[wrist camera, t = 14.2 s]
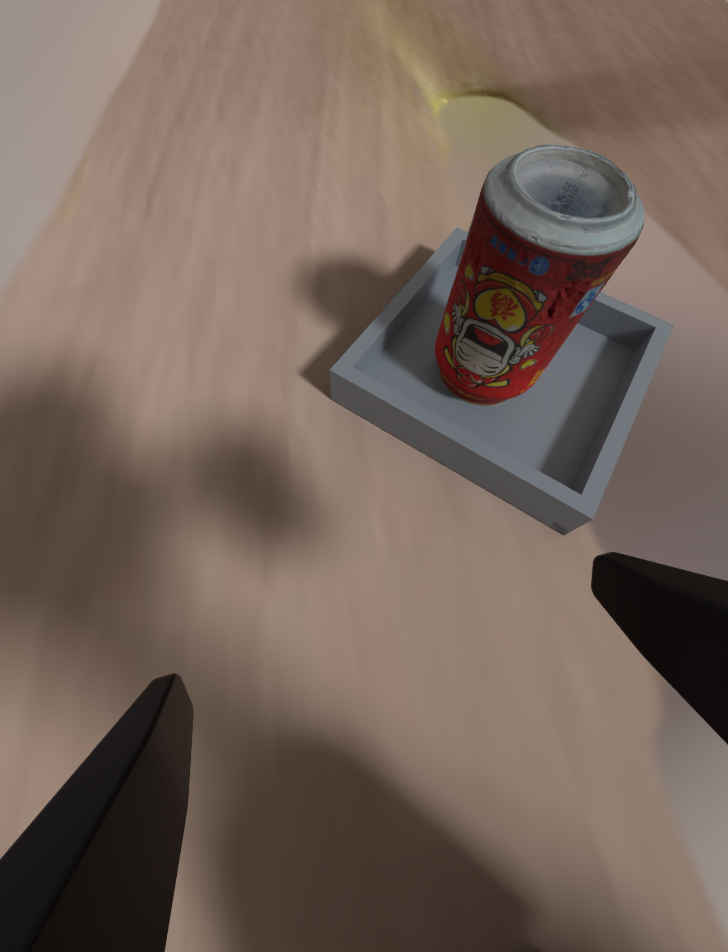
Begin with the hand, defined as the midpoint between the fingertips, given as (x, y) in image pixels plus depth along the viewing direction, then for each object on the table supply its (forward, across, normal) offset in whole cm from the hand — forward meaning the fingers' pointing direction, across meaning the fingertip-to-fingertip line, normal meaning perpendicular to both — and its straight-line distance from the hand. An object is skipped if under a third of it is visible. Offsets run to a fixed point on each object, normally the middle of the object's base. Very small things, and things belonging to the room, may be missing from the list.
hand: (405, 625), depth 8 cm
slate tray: (+20, -14, -1) cm, 24 cm away
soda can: (+20, -12, -1) cm, 23 cm away
